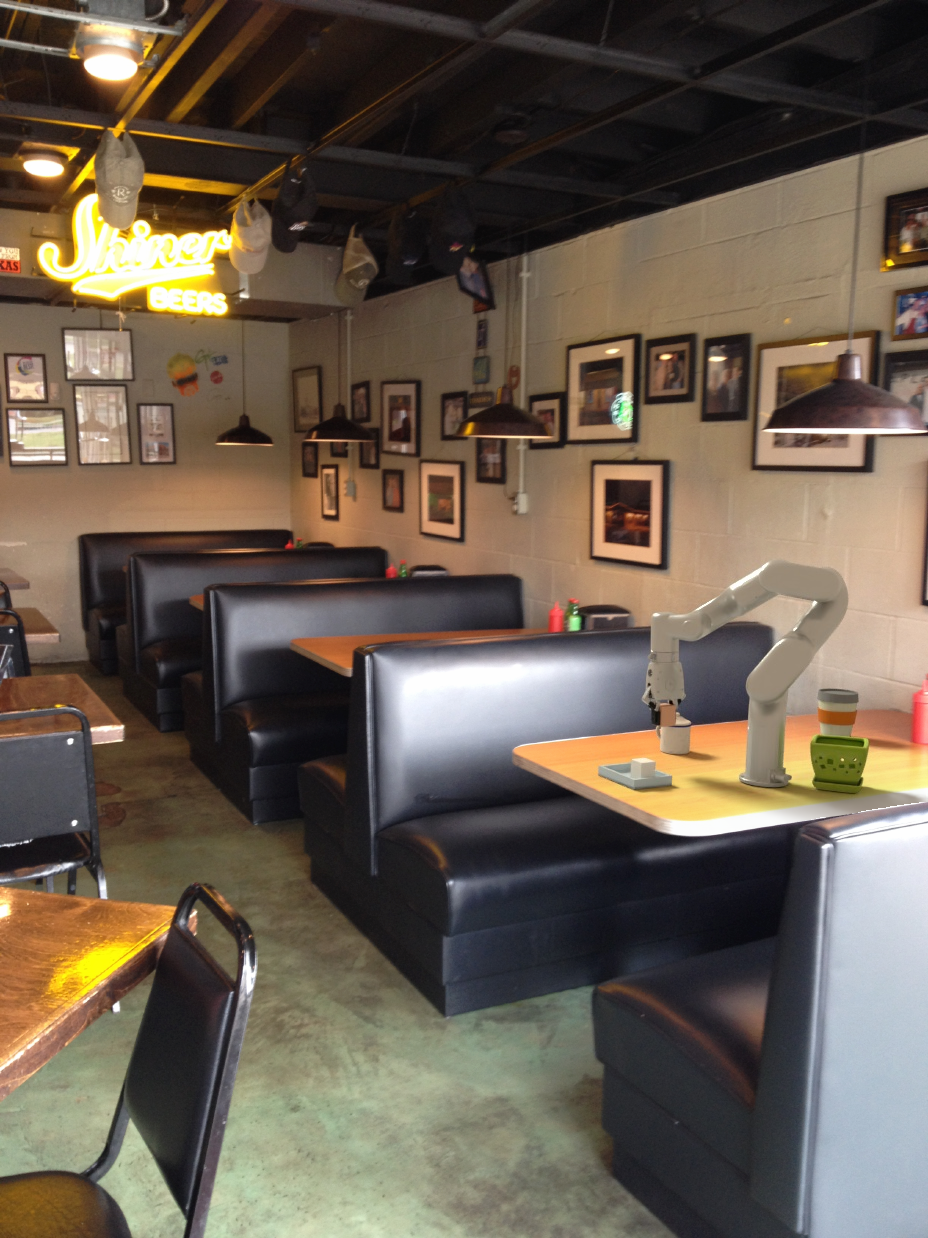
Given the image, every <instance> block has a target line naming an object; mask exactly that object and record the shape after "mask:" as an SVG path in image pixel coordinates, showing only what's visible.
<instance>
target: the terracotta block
mask: <svg viewBox="0 0 928 1238" xmlns="http://www.w3.org/2000/svg"><path fill="white" fill-rule="evenodd" d="M659 711H660V725H659V726H660V728H661V727H667V726H675V717H676V712H677V709H676V706H675V705H671V704H668V702H667V703H666V702H663V703H662V702H661V703H660V707H659ZM652 725H653V726H655V725H654V724H652Z"/></svg>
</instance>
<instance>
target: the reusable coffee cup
mask: <svg viewBox="0 0 928 1238" xmlns="http://www.w3.org/2000/svg"><path fill="white" fill-rule="evenodd" d="M816 698H817V700H818V701H817V702H818V703H817V704H818V706H817V708H816V709H817V718H818V719H817V720H818V722H819V729H820V735H821V734H822V735H833V736H846V737H850V736H851V737H852V731H853V728H854V725H855V724H856V719H857V715H858V713H857V712H858V709H857V706H858V703H859V702H860V701H859V699H860V698H859V692H858V691H855V690H850V689H843V688H830V687H829V688H819V689H818V691H817V697H816Z"/></svg>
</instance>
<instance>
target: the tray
mask: <svg viewBox="0 0 928 1238" xmlns="http://www.w3.org/2000/svg"><path fill="white" fill-rule="evenodd" d="M597 775H598V776H599V775H600V777H601V776H602V778H604V779H606V778H607V779H606V780H608V779H609V781H611V780H612V781H611V782H613V781H614V782H613V783H615V784H618V783H619V784H618V785H620V784H621V786H623V787H625V786H626V788H627V789H631V790H632V789H633V790H632V791H636V790H647V789H652V788H653V789H654V788H662V787H670V786H671V787H672V785H673V775H671V774H669V773H666V772H664V771H661V770H658V769H656V768H655V777H648V778H639V779H634V778H631V777H630V775H631V761H630V762H621V763H611V764H602V765H598V772H597Z"/></svg>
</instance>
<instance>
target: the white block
mask: <svg viewBox="0 0 928 1238" xmlns="http://www.w3.org/2000/svg"><path fill="white" fill-rule="evenodd" d="M630 759H631V758H630ZM630 762H631V775H630V777H631V778H634V779H639V778H648V777H655V769H656V765H657V764H656V761H655V760H652V759H649V758H646V757H641V758H640V757H639V758H632V759H631V760H630Z"/></svg>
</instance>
